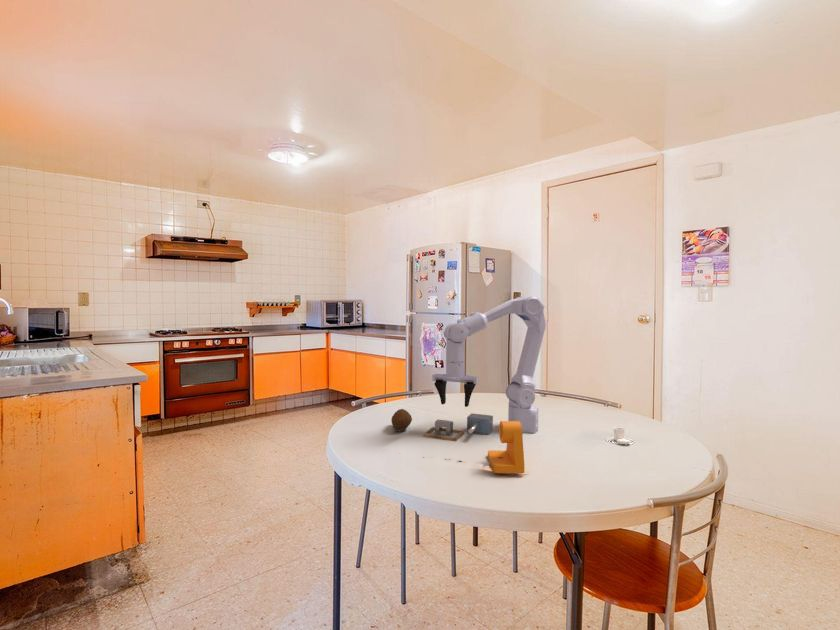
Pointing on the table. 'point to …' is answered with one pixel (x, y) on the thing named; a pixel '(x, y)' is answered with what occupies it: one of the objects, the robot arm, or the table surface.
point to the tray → (427, 434)
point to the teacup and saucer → (620, 436)
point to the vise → (479, 424)
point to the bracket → (509, 449)
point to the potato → (401, 420)
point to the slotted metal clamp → (444, 423)
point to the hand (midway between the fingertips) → (454, 404)
